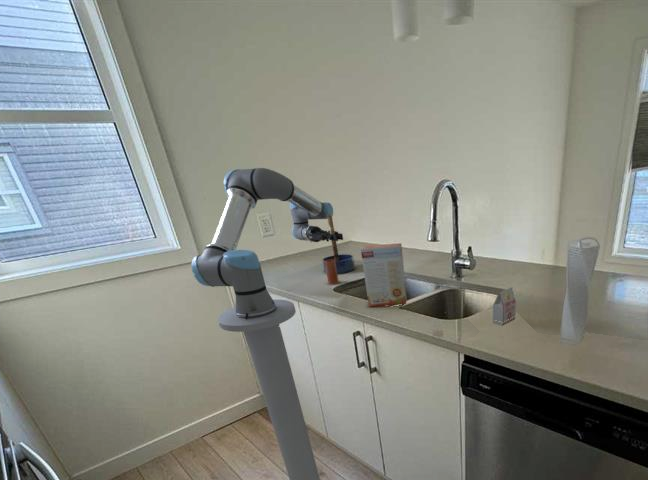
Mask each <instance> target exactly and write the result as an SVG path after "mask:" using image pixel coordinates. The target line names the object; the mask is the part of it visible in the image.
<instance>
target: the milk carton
mask: <svg viewBox="0 0 648 480" xmlns="http://www.w3.org/2000/svg"><path fill="white" fill-rule="evenodd" d="M494 300H495V301H494V302H493V305H492V324H494V325H497V326H502V327H503V326H505V325H507V324H509V323H510V322H513V321H514V320H516V310H517V309H516V308H517V300H516V297H515V293H514V290H513V287H508V288H506V289H504V290H502V291H499V292H498V293H497V296H496V298H495V299H494ZM514 316H515V317H514ZM512 317H513V318H512ZM510 318H511V319H510ZM508 319H509V320H508ZM494 320H497V321H494ZM506 320H507V321H506ZM498 321H501V322H503V323H501V322H498ZM504 321H505V322H504Z"/></svg>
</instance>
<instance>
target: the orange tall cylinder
mask: <svg viewBox="0 0 648 480" xmlns="http://www.w3.org/2000/svg"><path fill="white" fill-rule="evenodd" d="M324 262H325V268H326V272H325V274H326V279H327V282H328V285H337V284H339V283H340V281H339V274H337V269H336V263H335V259H328V260H325V261H324Z"/></svg>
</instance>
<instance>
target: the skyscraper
mask: <svg viewBox="0 0 648 480" xmlns="http://www.w3.org/2000/svg"><path fill="white" fill-rule="evenodd" d="M591 240H593V241H595V244H594V243H591V242H592V241H591ZM600 248H601V244H600V241H599V240H598V239H597V238H596V237H593V236H583V237H581V238H580V239H574V240H573V239H572V240H570V241H569V242H567V249H566V265H565V266H566V267H565V269H566V271H565V274H566V275H565V277H566V279H565V280H566V284H565V285H566V291H565V294H564V300H563V307H562V314H561V324H560V332H559V344H563V345H569V346H577V347H580V346H581V342H582V341H583V339H584V336H585V331H586V327H587V320H588V316H589V306H590V284H591V281H592V278H593V275H594V272H595V269H596V265H597V260H598V256H599V251H600ZM582 335H584V336H582ZM581 336H582V338H581ZM560 338H566V339H571V340H576V341H579V339H580V338H581V339H580V341H579V343H577V342H573V341H567V340H560Z"/></svg>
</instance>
